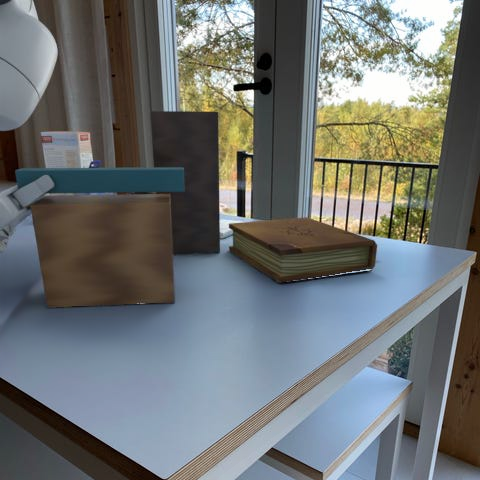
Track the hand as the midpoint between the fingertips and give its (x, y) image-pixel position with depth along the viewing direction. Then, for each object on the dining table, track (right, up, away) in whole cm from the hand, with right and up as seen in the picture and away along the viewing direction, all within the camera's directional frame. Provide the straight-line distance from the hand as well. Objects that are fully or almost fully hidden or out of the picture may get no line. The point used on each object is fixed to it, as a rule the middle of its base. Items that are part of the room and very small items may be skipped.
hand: (56, 177), depth 64 cm
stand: (+15, -5, +34) cm, 37 cm away
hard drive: (+21, +1, +48) cm, 53 cm away
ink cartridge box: (-14, +9, +65) cm, 67 cm away
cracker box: (-27, +17, +83) cm, 89 cm away
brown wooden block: (+6, -16, +8) cm, 19 cm away
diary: (+36, -8, +26) cm, 45 cm away
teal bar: (+6, -1, +1) cm, 7 cm away
